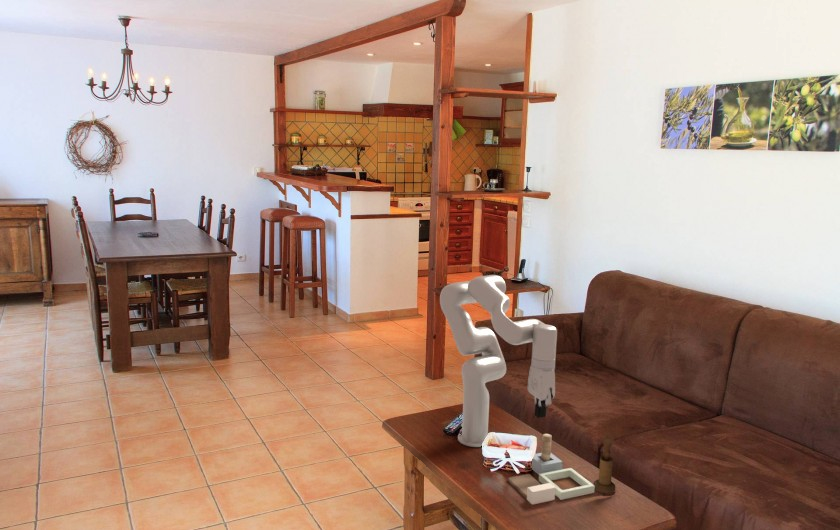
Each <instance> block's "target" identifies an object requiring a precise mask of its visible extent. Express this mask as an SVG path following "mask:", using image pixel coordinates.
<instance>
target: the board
mask: <svg viewBox="0 0 840 530" xmlns="http://www.w3.org/2000/svg"><path fill="white" fill-rule="evenodd" d="M507 482H508V483H509V484H510V485H512V487H513V488H514V489H516V490H517V491H518V492H519V494H521V495H522V496H523V497H524V498H525V499H526V500H527V488H528V487H532V486H537V485H542V483H541V482H539V480H537V479H536V478H535V477H534V476H533V475H532V474H530V473H526V474H521V475H516V476H510V477H507Z"/></svg>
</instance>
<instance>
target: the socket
mask: <svg viewBox="0 0 840 530" xmlns="http://www.w3.org/2000/svg"><path fill="white" fill-rule="evenodd" d="M541 453H542V452H539V453H534V454H535V455H534V457H533V459H532V469H531V470H533V472H535V473H536V474H537V475H538V476H539V474H542V473H547V472H552V471H557V470H562V469H563V465H564V464H563V463H564V462H563V461H562V460H561V459H560V458H559V457H557V455H555V454H554V453H552V452H551V456H550V461H546V462H543V461H542V460H541Z"/></svg>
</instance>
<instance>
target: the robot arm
mask: <svg viewBox="0 0 840 530" xmlns="http://www.w3.org/2000/svg"><path fill="white" fill-rule="evenodd" d="M506 291H507V285H506V282H505V280H504V279H503V277H502V276H500V275H496V274H489V275H488V274H487V275H480V276H476V277H474V278H472V279H471V280H468V281H460V282H459V281H458V282H452V283H449V284H447V285H445V286H444V287H443V288H442V289H441V292H440V295H439V304H440V308H441V311H442V313H443V314H444V316H445V319H446V321H447V323H448V326H449V328H450V330H451V334H452V337H453V340H454V342H455V346H456V348H457V350H458V352H459V354H461V355H462V356H473V355H474V356H475V355H479V354H481V356H477V357H472V358H470V359H468V360H465V362H464V363H463V364H462V366H461V378H462V385H463V386H462V387H463V388H462V389H463V394H462V395H463V396H462V399H463V400H462V422H461V423H460V427H462V429H461V432H462V435H461V434H460V433H458V435H457V441H458V442H459V443H460V444H462V445H463V446H467V447H471V448H482V447H481V445H482V442H483V440H484V439H485V437H486V436H487V434H489V413H490V394H489V390H488V389H487V386H486V383H488V382H489V383H490V382H492V381H495V380H499V379H500V380H501V378H503V377H504V376H505V374H506V373H507V364H506V361H505V358H504V355H503V352H502V350H501V347H500V344H499V341H498V338H497V335H499V337H500V338H501V339H502V340H504V341H505V342H507V343H508V344H509V345H513V346H519V345H524V344H528V343H532V348H531V351H532V352H531V364H530V365H529V366H530V367H529V371H528V377H527V378H528V379H527V392H528V393H529V394H531V395H532V396H533V397H534V398H533V399H534V416H535V417H536V418H537V419H539V418H545V417H547V407H548V405H552V400H554V398H555V394H556V373H555V369H556V355H557V341H558V329H557V328H556V327H555V326H554V325H551V324H545V323H544V322H542V321H541V320H539V319H537V318H536V319H535V318H529V319H523V320H522V319H521V320H517V321H513V320H511V319H510V318H509V317H508V316H507V315H506V313H507V312H508V311H509V308H510V305H511V299H510V297H509V296H507V295H506V294H505V293H506ZM475 303H476V304H479V305H480V306H481V307H482V308H483V310H485V311H487V312H488V314H490V315H491V316H490V320H491V324H492V327H493V329H494V331H495V333H496V334H497V335H496V334H495V333H494V331H493V330H492V329H491V328H489V327H487V326H480V327H475V326H474V323H473V321H472V317H471V315H470V314H469V313H468V312H467V311H466V310H465V308H463V307H462V306H463V305H470V304H475Z"/></svg>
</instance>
